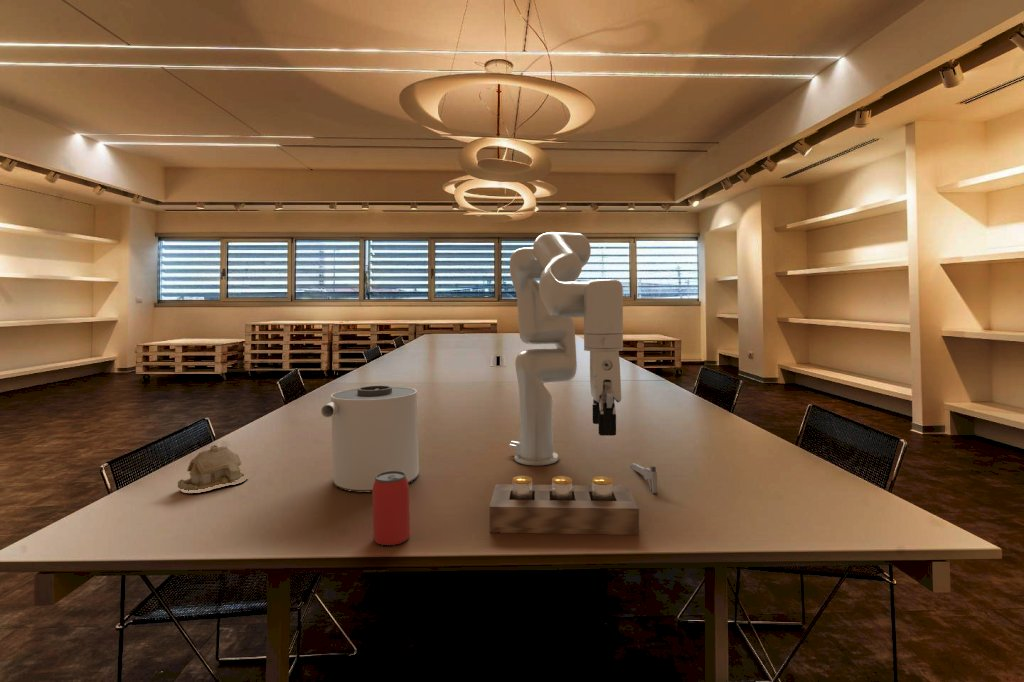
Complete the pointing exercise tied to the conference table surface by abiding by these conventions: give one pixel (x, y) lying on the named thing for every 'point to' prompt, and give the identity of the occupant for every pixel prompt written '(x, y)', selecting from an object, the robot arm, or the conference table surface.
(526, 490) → the left knob
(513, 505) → the knob console
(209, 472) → the ceramic model
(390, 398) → the humidifier
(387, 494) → the beer can
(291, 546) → the conference table surface
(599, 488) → the right knob
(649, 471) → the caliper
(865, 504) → the conference table surface
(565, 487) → the middle knob
